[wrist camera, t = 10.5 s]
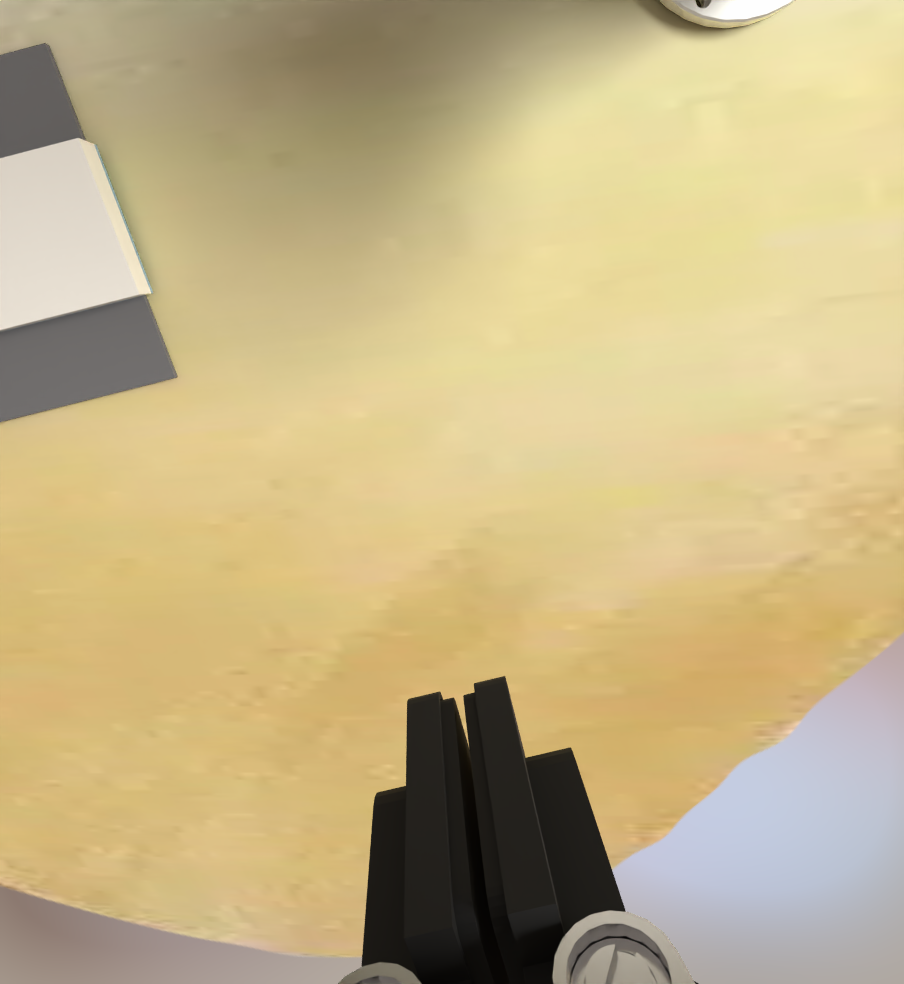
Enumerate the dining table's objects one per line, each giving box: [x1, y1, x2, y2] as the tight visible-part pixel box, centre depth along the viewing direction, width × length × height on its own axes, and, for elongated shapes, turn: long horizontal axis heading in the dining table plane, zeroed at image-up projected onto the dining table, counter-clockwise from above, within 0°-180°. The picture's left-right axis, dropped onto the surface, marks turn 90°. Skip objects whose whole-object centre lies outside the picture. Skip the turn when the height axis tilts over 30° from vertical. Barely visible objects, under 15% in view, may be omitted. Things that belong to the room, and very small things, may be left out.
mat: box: [0, 43, 177, 422], centre depth 36 cm, size 13×18×1 cm
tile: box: [0, 138, 153, 332], centre depth 35 cm, size 2×8×10 cm
